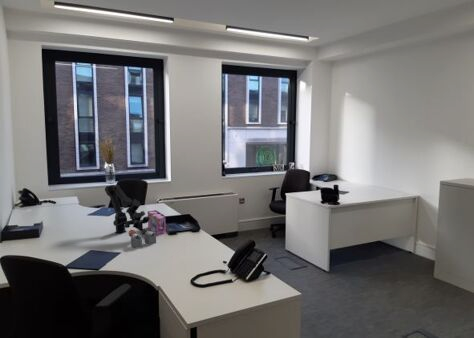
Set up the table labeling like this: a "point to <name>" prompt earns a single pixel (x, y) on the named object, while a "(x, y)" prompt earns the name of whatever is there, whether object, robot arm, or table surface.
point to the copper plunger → (132, 233)
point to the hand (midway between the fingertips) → (142, 231)
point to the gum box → (156, 222)
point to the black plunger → (146, 231)
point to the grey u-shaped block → (150, 238)
